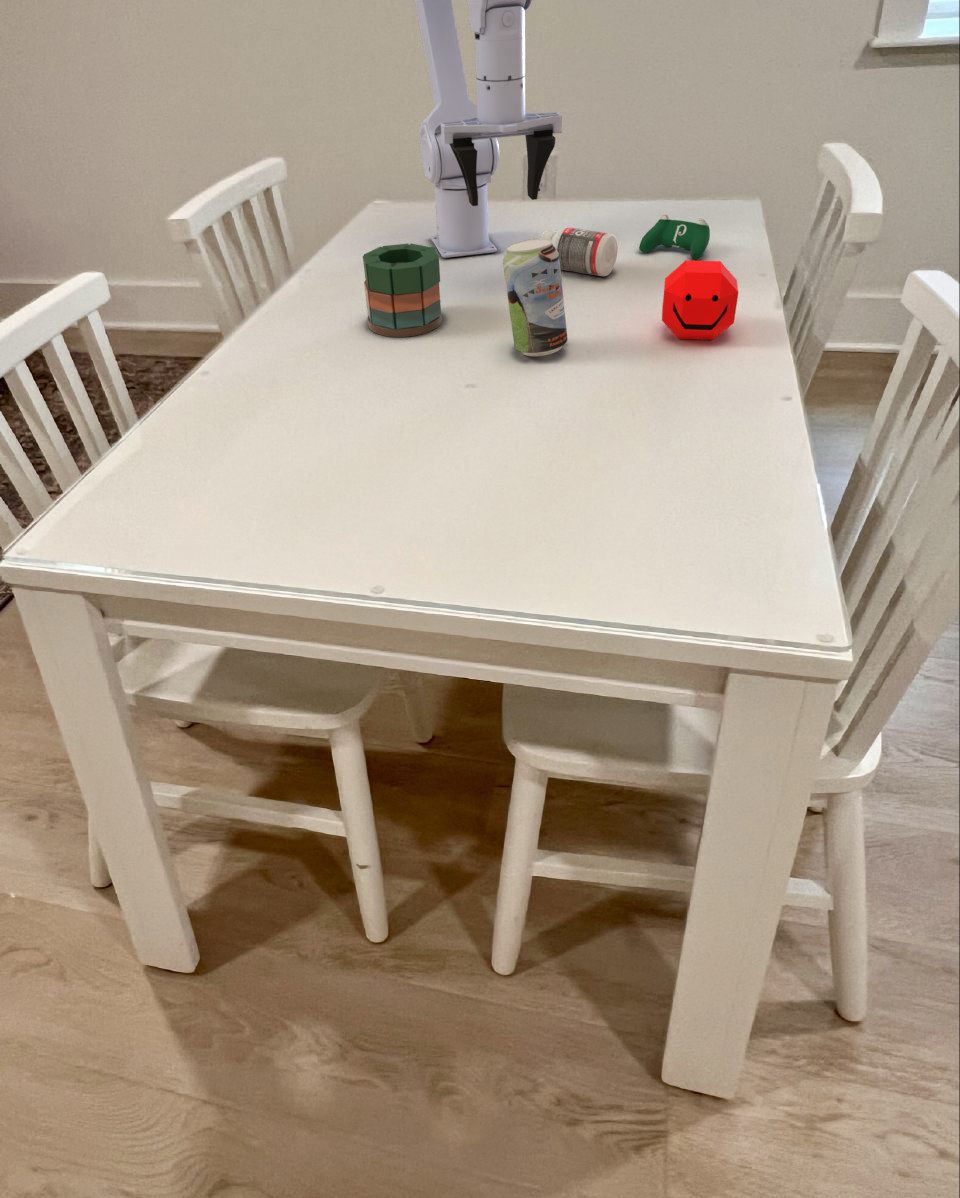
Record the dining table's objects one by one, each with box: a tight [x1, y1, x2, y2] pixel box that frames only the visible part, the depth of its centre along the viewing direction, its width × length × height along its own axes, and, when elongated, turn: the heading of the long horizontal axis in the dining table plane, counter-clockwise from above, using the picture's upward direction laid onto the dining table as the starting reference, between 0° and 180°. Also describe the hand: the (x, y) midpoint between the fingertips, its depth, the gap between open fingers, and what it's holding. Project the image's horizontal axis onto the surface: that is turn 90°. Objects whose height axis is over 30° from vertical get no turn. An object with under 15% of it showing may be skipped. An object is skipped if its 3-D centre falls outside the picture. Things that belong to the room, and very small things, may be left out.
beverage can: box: [502, 238, 568, 357], centre depth 97 cm, size 6×7×12 cm
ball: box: [661, 259, 739, 341], centre depth 101 cm, size 8×8×8 cm
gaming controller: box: [638, 213, 711, 261], centre depth 124 cm, size 9×4×6 cm
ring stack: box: [363, 262, 442, 338], centre depth 107 cm, size 9×9×7 cm
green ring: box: [362, 242, 441, 295], centre depth 105 cm, size 9×9×3 cm
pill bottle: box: [539, 226, 619, 277], centre depth 119 cm, size 5×5×10 cm
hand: (503, 200), depth 112 cm, fingers open, 7 cm apart
